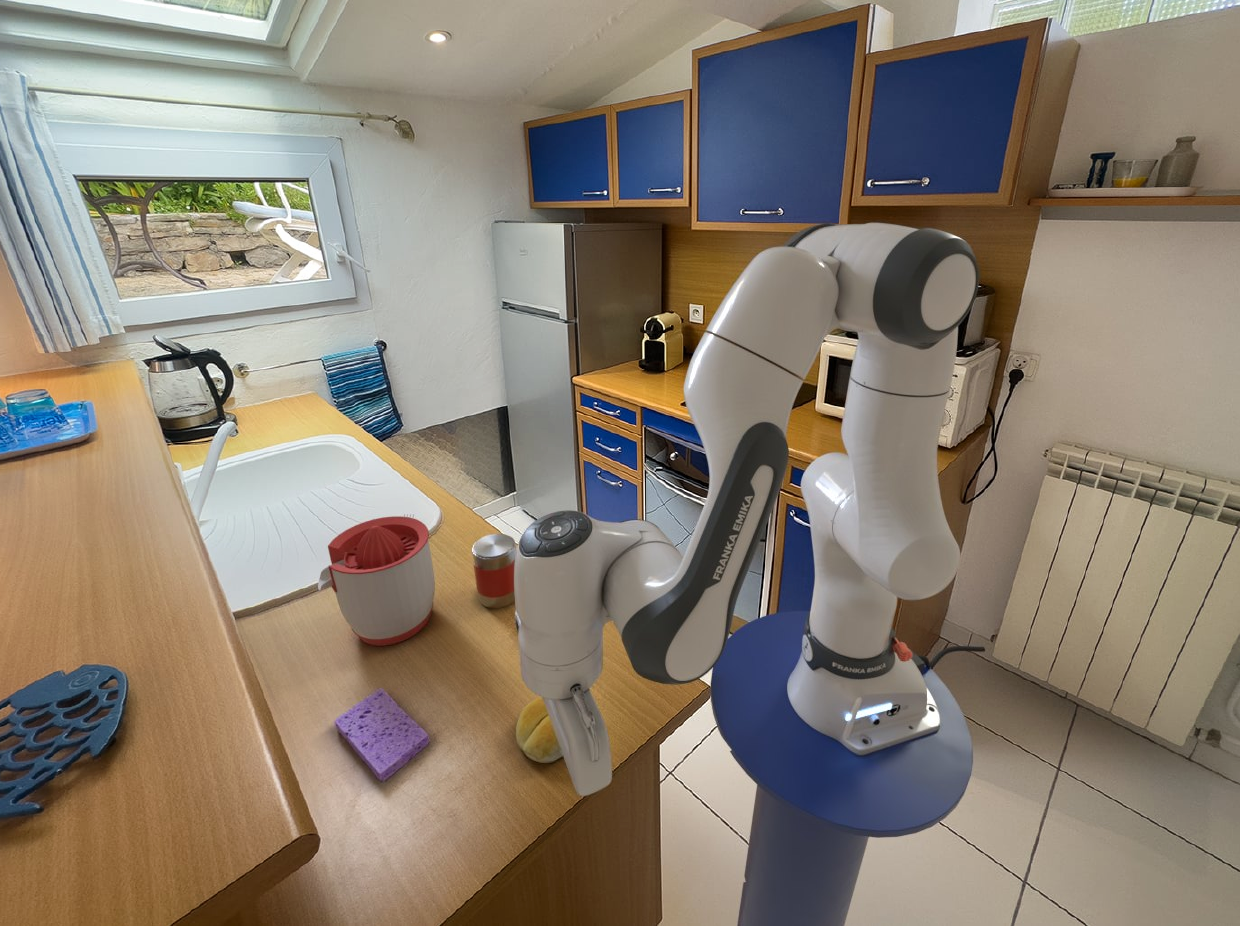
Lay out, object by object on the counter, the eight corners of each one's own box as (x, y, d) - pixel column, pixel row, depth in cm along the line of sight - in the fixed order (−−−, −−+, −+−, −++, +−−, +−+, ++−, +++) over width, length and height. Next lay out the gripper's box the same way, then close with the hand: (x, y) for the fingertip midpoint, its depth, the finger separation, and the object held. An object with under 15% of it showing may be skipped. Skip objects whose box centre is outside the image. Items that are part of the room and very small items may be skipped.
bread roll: (555, 697, 81) (553, 677, 80) (589, 739, 75) (588, 719, 73) (504, 729, 76) (502, 708, 75) (536, 777, 70) (534, 756, 68)
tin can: (522, 579, 106) (518, 531, 101) (518, 607, 99) (513, 556, 94) (482, 581, 105) (475, 533, 101) (474, 610, 98) (467, 559, 94)
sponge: (383, 695, 81) (380, 686, 80) (431, 743, 74) (429, 733, 73) (335, 729, 76) (332, 720, 75) (382, 784, 69) (379, 774, 68)
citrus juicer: (332, 612, 97) (306, 518, 89) (434, 582, 105) (418, 492, 97) (335, 675, 84) (305, 571, 76) (450, 635, 92) (433, 537, 84)
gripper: (628, 721, 50) (626, 815, 56) (561, 588, 67) (564, 670, 73) (564, 748, 48) (568, 844, 53) (510, 602, 65) (518, 686, 70)
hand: (565, 742), depth 63 cm, fingers closed
